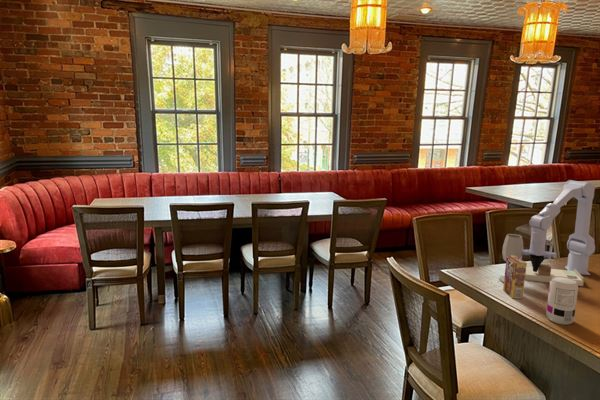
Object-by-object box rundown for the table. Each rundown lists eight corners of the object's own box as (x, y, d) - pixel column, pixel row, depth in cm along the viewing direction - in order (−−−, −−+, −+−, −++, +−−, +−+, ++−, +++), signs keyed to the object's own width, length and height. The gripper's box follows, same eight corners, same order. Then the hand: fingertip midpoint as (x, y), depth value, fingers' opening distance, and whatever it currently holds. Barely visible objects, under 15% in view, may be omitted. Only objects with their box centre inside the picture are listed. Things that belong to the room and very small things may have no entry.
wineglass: (499, 283, 172) (503, 237, 169) (498, 276, 180) (502, 232, 177) (522, 286, 169) (527, 239, 165) (519, 279, 177) (524, 234, 173)
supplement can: (540, 317, 142) (545, 277, 139) (555, 313, 145) (560, 274, 142) (563, 327, 134) (568, 286, 132) (578, 322, 138) (584, 282, 135)
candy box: (523, 299, 157) (527, 262, 154) (512, 298, 157) (516, 262, 154) (513, 290, 165) (516, 255, 163) (502, 289, 166) (505, 255, 163)
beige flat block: (518, 270, 188) (519, 263, 187) (574, 276, 180) (575, 269, 180) (523, 279, 177) (523, 272, 176) (583, 286, 169) (584, 278, 169)
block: (537, 272, 179) (538, 263, 178) (547, 273, 178) (548, 264, 177) (539, 275, 175) (540, 266, 175) (550, 276, 174) (551, 267, 173)
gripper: (521, 243, 174) (518, 272, 176) (559, 246, 169) (555, 276, 171) (518, 238, 180) (515, 267, 183) (555, 241, 175) (551, 270, 178)
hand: (534, 271), depth 178 cm, fingers closed
